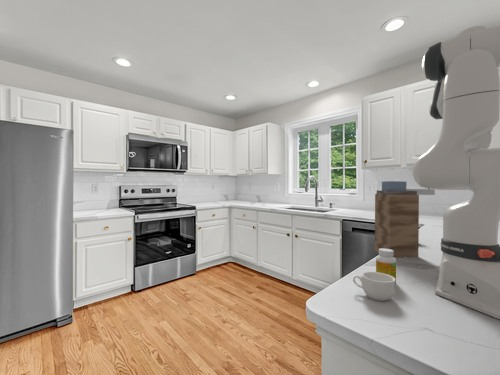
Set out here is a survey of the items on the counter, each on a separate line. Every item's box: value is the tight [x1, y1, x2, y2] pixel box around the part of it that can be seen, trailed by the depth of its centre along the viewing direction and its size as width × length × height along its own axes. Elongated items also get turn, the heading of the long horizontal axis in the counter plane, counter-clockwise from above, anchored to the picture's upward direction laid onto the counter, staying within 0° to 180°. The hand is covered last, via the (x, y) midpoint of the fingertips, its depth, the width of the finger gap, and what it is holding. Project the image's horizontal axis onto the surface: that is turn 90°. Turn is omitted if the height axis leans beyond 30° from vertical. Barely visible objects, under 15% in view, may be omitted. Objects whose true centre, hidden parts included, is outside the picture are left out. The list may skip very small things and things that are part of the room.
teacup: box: [352, 271, 396, 302], centre depth 65 cm, size 10×8×5 cm
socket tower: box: [374, 190, 420, 258], centre depth 108 cm, size 10×14×28 cm
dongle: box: [381, 180, 436, 196], centre depth 109 cm, size 5×22×6 cm, turn 97°
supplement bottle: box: [375, 248, 397, 285], centre depth 75 cm, size 5×5×10 cm
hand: (460, 163), depth 104 cm, fingers open, 8 cm apart
